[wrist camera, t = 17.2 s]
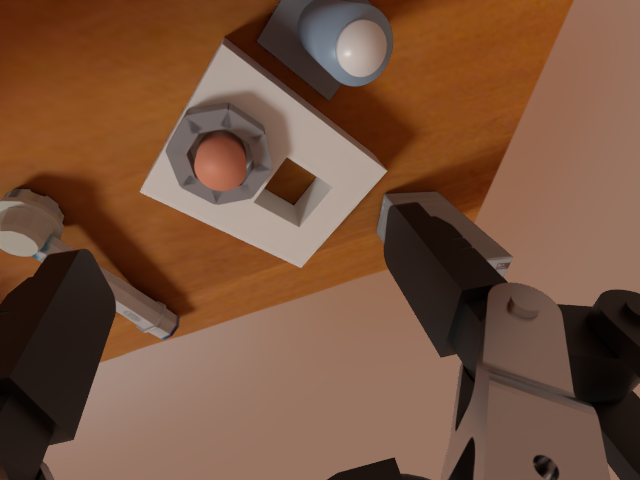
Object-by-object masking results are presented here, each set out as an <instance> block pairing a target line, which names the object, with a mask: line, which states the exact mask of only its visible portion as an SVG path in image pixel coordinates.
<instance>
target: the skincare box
mask: <svg viewBox="0 0 640 480" xmlns="http://www.w3.org/2000/svg"><path fill="white" fill-rule="evenodd" d="M411 202H418V203H419V204H420V205H421V206H422V207H423V208H424V209H425V210H426V211H427V213H428V214H429V215H430V216H431V217H432V216H437V217H439V218H441V219H442V220H444V221H446V222H448V223H450V224H452V225H453V226H454V227H455V228H456V229H457V230H458V231H459V232H460V234H461V235H462V236H463V238H465V239H466V240H467V241H468V242H469V243H470V244H471V245H472V248H475V249H476V250H477V251H478V252H479V253H480V254H481V255H482V256H483V257H484V258H485V259H486V260H487V261H488V262H489V263H490V264H491V265H492V266H493V267H494V268H495V269H496V271H497V272H498V273H499V274H500V275H501V276H502V277H504V275H505V273H506V271H507V269H508V267H509V265H510V263H511V261H512V258H513V257H512V256H511V255H510V254H509V253H508V252H507V251H506V250H505V249H503V248H502V247H501V246H500V245H499V244H498V243H496V242H495V241H494V240H493V239H492V238H490V237H489V236H488V235H487V234H486V233H485V232H483V231H482V230H481V229H480V228H479V227H478V226H477V225H475V224H474V223H473V222H472V221H471V220H470V219H468V218H467V217H466V216H465V215H464V214H463V213H462V212H460V211H459V210H458V209H457V208H456V207H455V206H453V205H452V204H451V203H450V202H449V201H448V200H447V199H445V198H444V197H443V196H442V195H441V194H440V193H438V191H434V192H413V193H390V194H384V198H383V203H382V208H381V213H380V219H379V224H378V228H377V234H378V236H379V237H380V239H381V240H382V242H383V243H384V241H385V232H386V223H387V214H388V209H389V207H390V206H391V205H397V204H404V203H411Z"/></svg>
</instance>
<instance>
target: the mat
mask: <svg viewBox="0 0 640 480" xmlns="http://www.w3.org/2000/svg"><path fill="white" fill-rule="evenodd" d="M312 1H314V0H280V2H279V4H278V5H277V7H276V9H275V10H274V12H273V14H272V15H271V17H270V19H269V20H268V22H267V24H266V25H265V27H264V29H263V30H262V32H261V34H260V35H259V37H258V39H257V41H256V42H258V43H259V44H260V45H261V46H262V47H264V48H265V49H266V50H267V51H269V52H270V53H271V54H272V55H273V56H275V57H276V58H277V59H278V60H280V61H281V62H282V63H283V64H284V65H286V66H287V67H288V68H289V69H291V70H292V71H293V72H294V73H295V74H297V75H298V76H299V77H300V78H302V79H303V80H304V81H305V82H306V83H308V84H309V85H310V86H311V87H313V88H314V89H315V90H316V91H317V92H319V93H320V94H321V95H322V96H324V97H325V98H326V99H327V100H328V101H330V100H331V98H332V97H333V96H334V94H335V93H336V92H337V90H338V89H339V87H340V86H341V85H342V83H340V82H339V81H337V80H336V79H335V78H334V77H333V76H332V75H331V74H330V73H329V72H328V71H326V70H325V69H324V68H323V67H322V66H321V65H320V64H319V63H318V62H317V61H316V60H315V59H314V58H313V57H312V56H311V55H310V54H309V53H308V52H307V51H306V50H305V49H304V48H303V46H302V45H301V43H300V40H299V37H298V21H299V18H300V15H301V13H302V11H303V9H304V8H305V7H306V6H307V5H308V4H309V3H310V2H312ZM341 1H348V2H355V3H362V4H368V5H371V6H373V5H372V4H371V3H370V2H369V1H368V0H341Z"/></svg>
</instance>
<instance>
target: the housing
mask: <svg viewBox="0 0 640 480" xmlns="http://www.w3.org/2000/svg"><path fill="white" fill-rule="evenodd" d="M216 130H223V131H228V132H230V133H233V134H234V135H236V136H237V137H238V138H239V139H240V140H241V141H242V143H243V145H244V147H245V151H246V168H247V171H246V176H245V178H244V180H243V182H242V183H241V184H240V185H239V186H237V187H236V188H234V189H232V190H228V191H217V190H213V189H211V188H208V187H207V186H205V185H204V184H203V183H202V182H201V181H200V180H199V179H198V177H197V175H196V173H195V169H194V163H195V158H196V154H197V150H198V146H199V143H200V141H201V139H202V138H203V137H204V136H205V135H206V134H208V133H210V132H212V131H216ZM286 157H287V158H289V159H291V160H292V161H294V162H295V163H297V164H298V165H300V166H301V167H303V168H304V169H306V170H307V171H309V172H310V173H312V174H313V175H315V176H316V178H315V180H314V181H313V182H312V183H311V185H310V186H309V187H308V188H307V190H306V191H305V192H304V193H303V195H302V196H301V197H300V198H299V200H298V201H297V202H296V203H295V205H292V204H290V203H289V202H287V201H285V200H283V199H282V198H280V197H278V196H276V195H275V194H273V193H271V192H269V191H268V190H266V189H264V187H265V186H266V185H267V183H268V182H269V181H270V179H271V178H272V177H273V175H274V174H275V172H276V171H277V170H278V168H279V167H280V166H281V164H282V163H283V162H284V160H285V159H286ZM386 172H387V170H386V169H385V167H384V166H383V165H382V164H381V162H380V161H379V160H378V159H377V158H376V156H375V155H374V154H373V153H372V152H371V151H369V150H368V149H367V148H366V147H364V146H363V145H362V144H361V143H359V142H358V141H357V140H355V139H354V138H353V137H352V136H350V135H349V134H348V133H346V132H345V131H344V130H343V129H341V128H340V127H339V126H338V125H336V124H335V123H334V122H332V121H331V120H330V119H329V118H327V117H326V116H325V115H324V114H322V113H321V112H320V111H318V110H317V109H316V108H315V107H313V106H312V105H311V104H309V103H308V102H307V101H306V100H304V99H303V98H302V97H301V96H299V95H298V94H297V93H295V92H294V91H293V90H292V89H290V88H289V87H288V86H286V85H285V84H284V83H283V82H281V81H280V80H279V79H278V78H276V77H275V76H274V75H272V74H271V73H270V72H269V71H267V70H266V69H265V68H264V67H262V66H261V65H260V64H258V63H257V62H256V61H255V60H253V59H252V58H251V57H249V56H248V55H247V54H246V53H244V52H243V51H242V50H241V49H239V48H238V47H237V46H235V45H234V44H233V43H232V42H230V41H229V40H228V39H226V38H225V37H224V38H223V40H222V42H221V43H220V45H219V47H218V49H217V51H216V52H215V54H214V56H213V58H212V60H211V61H210V63H209V65H208V67H207V69H206V70H205V72H204V74H203V76H202V78H201V79H200V81H199V83H198V85H197V87H196V88H195V90H194V92H193V94H192V96H191V97H190V99H189V101H188V103H187V105H186V106H185V108H184V110H183V112H182V114H181V115H180V117H179V119H178V121H177V123H176V124H175V126H174V128H173V130H172V132H171V133H170V135H169V137H168V139H167V141H166V142H165V144H164V146H163V148H162V150H161V151H160V153H159V155H158V157H157V159H156V160H155V162H154V164H153V166H152V168H151V169H150V171H149V173H148V176H147V178H146V180H145V182H144V184H143V186H142V188H141V190H140V193H143V194H145V195H147V196H149V197H151V198H153V199H155V200H157V201H160V202H162V203H164V204H166V205H168V206H170V207H172V208H175V209H177V210H179V211H181V212H183V213H185V214H187V215H189V216H192V217H194V218H196V219H198V220H200V221H202V222H204V223H206V224H209V225H211V226H213V227H215V228H217V229H219V230H221V231H224V232H226V233H228V234H230V235H232V236H234V237H236V238H238V239H241V240H243V241H245V242H247V243H249V244H251V245H253V246H255V247H258V248H260V249H262V250H264V251H266V252H268V253H270V254H273V255H275V256H277V257H279V258H281V259H283V260H285V261H287V262H290V263H292V264H294V265H296V266H298V267H300V268H301V267H302V266H303V265H304V264H305V263H306V262H307V260H308V259H309V258H310V257H311V256H312V255H313V254H314V253H315V252H316V250H317V249H318V248H319V247H320V246H321V245H322V244H323V243H324V241H325V240H326V239H327V238H328V237H329V236H330V235H331V234H332V232H333V231H334V230H335V229H336V228H337V227H338V226H339V225H340V224H341V222H342V221H343V220H344V219H345V218H346V217H347V216H348V215H349V213H350V212H351V211H352V210H353V209H354V208H355V207H356V206H357V205H358V203H359V202H360V201H361V200H362V199H363V198H364V197H365V196H366V194H367V193H368V192H369V191H370V190H371V189H372V188H373V187H374V185H375V184H376V183H377V182H378V181H379V180H380V179H381V178H382V177H383V175H384V174H385V173H386Z"/></svg>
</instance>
